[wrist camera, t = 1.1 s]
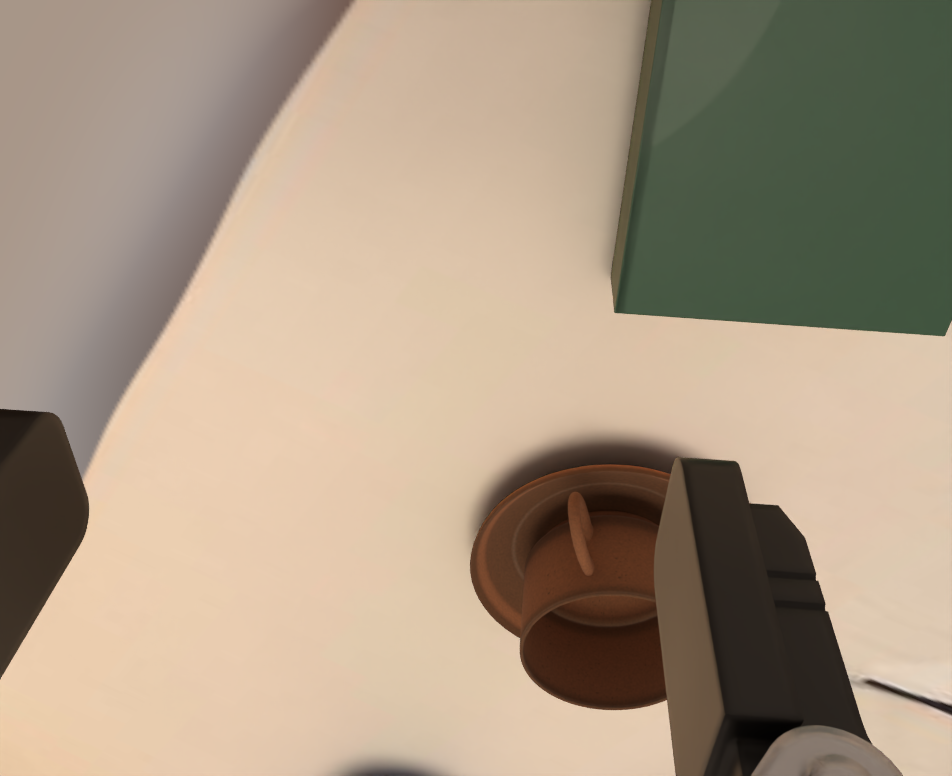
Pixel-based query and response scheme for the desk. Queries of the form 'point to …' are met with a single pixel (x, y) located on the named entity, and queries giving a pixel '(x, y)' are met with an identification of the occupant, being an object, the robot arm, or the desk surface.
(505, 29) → the desk surface
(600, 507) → the cup and saucer
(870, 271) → the book
